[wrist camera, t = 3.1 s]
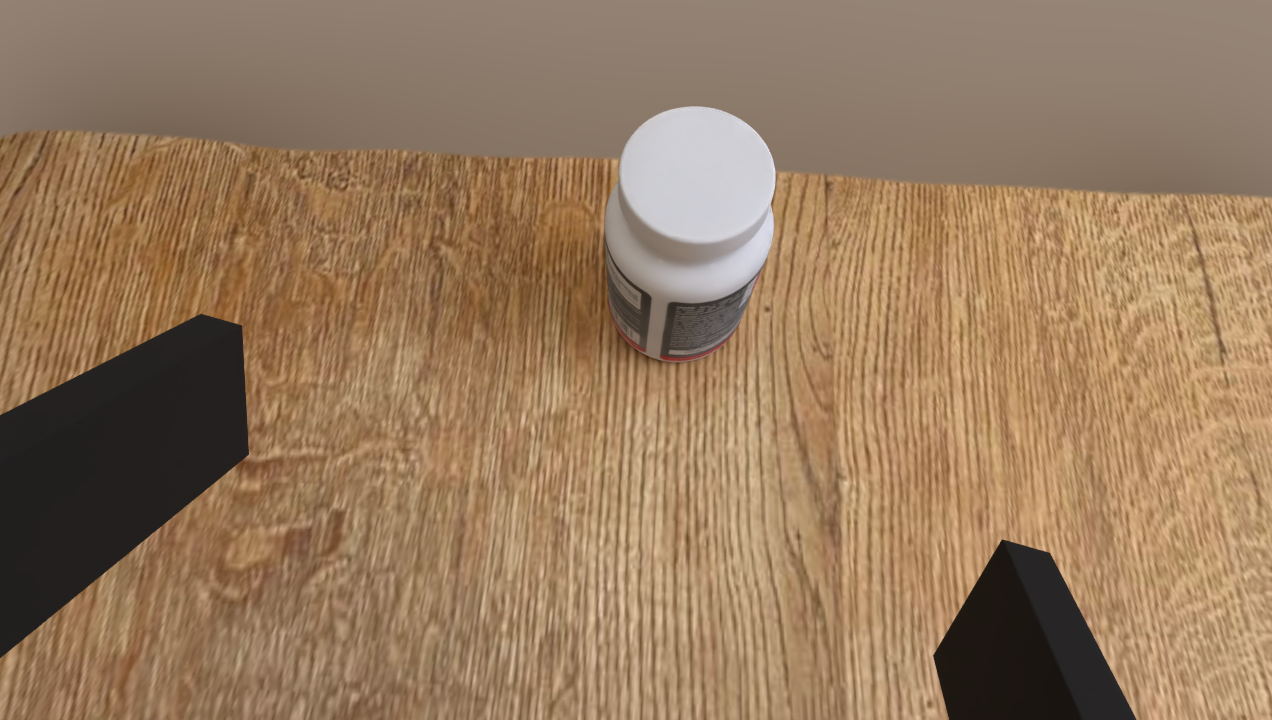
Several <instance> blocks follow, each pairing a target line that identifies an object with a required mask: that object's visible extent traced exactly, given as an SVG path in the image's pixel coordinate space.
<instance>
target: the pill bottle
mask: <svg viewBox="0 0 1272 720" xmlns="http://www.w3.org/2000/svg"><path fill="white" fill-rule="evenodd" d="M774 190H775V168H774V163H773V159H772V156H771V153H770V151H769V150H768V148H767V146H766V144H765V143H764V141H763V140H762V138H761V137H760V136H759V135H758V133H757V132H756V131H754V129H752V128H751V127H750V126H749V125H748V124H746V123H745V122H744V121H742V120H740V119H739V118H737V117H735V116H733V115H731V114H729V113H727V112H724V111H721V110H718V109H713V108H707V107H700V106H698V107H697V106H696V107H695V106H693V107H681V108H675V109H671V110H667V111H665V112H662V113H660V114H658V115H656V116H654V117H652V118H650V119H649V120H647V121H646V122H645V123H643V124H642V125H641V126H640V127H639V128H638V129H637V130H636V131H635V132H634V133H633V135H632V136H631V137H630V139H629V140H628V142H627V144H626V145H625V148H624V150H623V152H622V155H621V159H620V164H619V175H618V182H617V183H616V185H615V186H614V188H613V190H612V192H611V195H610V197H609V200H608V203H607V208H606V213H605V247H606V265H607V285H608V303H609V309H610V313H611V316H612V319H613V322H614V324H615V326H616V328H617V330H618V331H619V333H620V334H621V335H622V337H623V338H624V339H625V340H626V341H627V342H628V343H629V344H630V345H631V346H632V347H634V348H635V349H636V350H638V351H639V352H641V353H643V354H645V355H647V356H649V357H651V358H654V359H657V360H661V361H667V362H688V361H693V360H697V359H700V358H703V357H705V356H707V355H710V354H711V353H713V352H715V351H716V350H718V349H719V348H720V347H722V346H723V345H724V344H725V343H726V342H727V341H728V340H729V338H730V337H731V336H732V335H733V333H734V332H735V330H736V328H737V326H738V325H739V323H740V320H741V318H742V315H743V313H744V310H745V308H746V306H747V303H748V301H749V299H750V296H751V294H752V291H753V289H754V287H755V284H756V282H757V280H758V278H759V276H760V273H761V271H762V269H763V266H764V263H765V261H766V258H767V256H768V253H769V250H770V247H771V243H772V239H773V230H774V221H773V213H772V209H771V205H770V204H771V201H772V197H773V193H774Z"/></svg>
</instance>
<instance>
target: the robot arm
mask: <svg viewBox="0 0 1272 720" xmlns="http://www.w3.org/2000/svg"><path fill="white" fill-rule="evenodd" d="M248 455H249V448H248V429H247V411H246V392H245V373H244V355H243V336H242V325H238V324H235V323H231V322H228V321H224V320H221V319H217V318H214V317H210V316H206V315H203V314H200V315H198V316H196V317H194V318H192V319H190V320H188V321H186V322H184V323H182V324H180V325H178V326H176V327H174V328H172V329H170V330H168V331H166V332H164V333H162V334H160V335H158V336H156V337H154V338H152V339H150V340H148V341H146V342H144V343H142V344H140V345H138V346H136V347H134V348H132V349H130V350H128V351H126V352H124V353H122V354H120V355H119V356H117V357H115V358H113V359H111V360H109V361H107V362H105V363H103V364H101V365H99V366H97V367H95V368H93V369H91V370H89V371H87V372H85V373H83V374H81V375H79V376H77V377H75V378H73V379H71V380H69V381H67V382H65V383H63V384H61V385H59V386H57V387H55V388H53V389H51V390H49V391H47V392H45V393H43V394H41V395H39V396H37V397H35V398H33V399H31V400H29V401H27V402H26V403H24V404H22V405H20V406H18V407H16V408H14V409H12V410H10V411H8V412H6V413H4V414H2V415H0V658H1V657H2V656H3V655H5V654H6V653H7V652H8V651H10V650H11V649H12V648H13V647H14V646H16V645H17V644H18V643H19V642H21V641H22V640H23V639H24V638H25V637H27V636H28V635H29V634H30V633H32V632H33V631H34V630H35V629H36V628H38V627H39V626H40V625H41V624H43V623H44V622H45V621H46V620H47V619H49V618H50V617H51V616H52V615H54V614H55V613H56V612H57V611H58V610H60V609H61V608H62V607H63V606H65V605H66V604H67V603H68V602H69V601H71V600H72V599H73V598H74V597H75V596H77V595H78V594H79V593H80V592H82V591H83V590H84V589H85V588H86V587H88V586H89V585H90V584H91V583H93V582H94V581H95V580H96V579H97V578H99V577H100V576H101V575H102V574H104V573H105V572H106V571H107V570H108V569H110V568H111V567H112V566H113V565H115V564H116V563H117V562H118V561H119V560H121V559H122V558H123V557H124V556H126V555H127V554H128V553H129V552H130V551H132V550H133V549H134V548H135V547H137V546H138V545H139V544H140V543H141V542H143V541H144V540H145V539H146V538H148V537H149V536H150V535H151V534H152V533H154V532H155V531H156V530H157V529H159V528H160V527H161V526H162V525H163V524H165V523H166V522H167V521H168V520H170V519H171V518H172V517H173V516H174V515H176V514H177V513H178V512H179V511H181V510H182V509H183V508H184V507H185V506H187V505H188V504H189V503H190V502H192V501H193V500H194V499H195V498H196V497H198V496H199V495H200V494H201V493H203V492H204V491H205V490H206V489H207V488H209V487H210V486H211V485H212V484H213V483H215V482H216V481H217V480H218V479H220V478H221V477H222V476H223V475H224V474H226V473H227V472H228V471H229V470H231V469H232V468H233V467H234V466H235V465H237V464H238V463H239V462H240V461H242V460H243V459H244V458H245V457H246V456H248ZM933 657H934V661H935V665H936V669H937V673H938V677H939V681H940V685H941V689H942V693H943V697H944V701H945V705H946V709H947V713H948V717H949V720H1136V718H1135V716H1134V714H1133V712H1132V710H1131V708H1130V706H1129V704H1128V702H1127V700H1126V698H1125V696H1124V695H1123V693H1122V691H1121V689H1120V687H1119V685H1118V683H1117V681H1116V679H1115V677H1114V675H1113V673H1112V671H1111V670H1110V668H1109V666H1108V664H1107V662H1106V660H1105V658H1104V656H1103V654H1102V652H1101V650H1100V648H1099V646H1098V645H1097V643H1096V641H1095V639H1094V637H1093V635H1092V633H1091V631H1090V629H1089V627H1088V625H1087V623H1086V621H1085V619H1084V618H1083V616H1082V614H1081V612H1080V610H1079V608H1078V606H1077V604H1076V602H1075V600H1074V598H1073V596H1072V594H1071V593H1070V591H1069V589H1068V587H1067V585H1066V583H1065V581H1064V579H1063V577H1062V575H1061V573H1060V571H1059V569H1058V568H1057V566H1056V564H1055V562H1054V560H1053V558H1052V556H1051V554H1050V553H1048V552H1045V551H1041V550H1038V549H1034V548H1031V547H1027V546H1023V545H1020V544H1016V543H1013V542H1009V541H1006V540H1001V542H1000V544H999V545H998V547H997V549H996V551H995V552H994V554H993V556H992V557H991V559H990V561H989V562H988V564H987V566H986V567H985V569H984V571H983V572H982V574H981V576H980V578H979V579H978V581H977V583H976V584H975V586H974V588H973V589H972V591H971V593H970V594H969V596H968V598H967V599H966V601H965V603H964V605H963V606H962V608H961V610H960V611H959V613H958V615H957V616H956V618H955V620H954V621H953V623H952V625H951V626H950V628H949V630H948V632H947V633H946V635H945V637H944V638H943V640H942V642H941V643H940V645H939V647H938V648H937V650H936V652H935V653H934V655H933Z"/></svg>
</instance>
